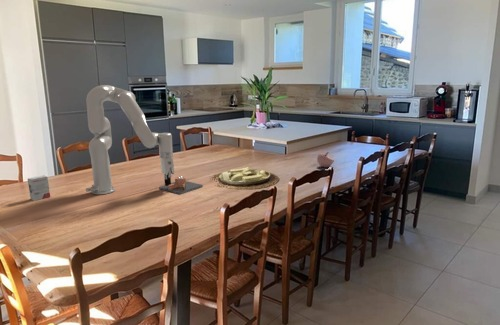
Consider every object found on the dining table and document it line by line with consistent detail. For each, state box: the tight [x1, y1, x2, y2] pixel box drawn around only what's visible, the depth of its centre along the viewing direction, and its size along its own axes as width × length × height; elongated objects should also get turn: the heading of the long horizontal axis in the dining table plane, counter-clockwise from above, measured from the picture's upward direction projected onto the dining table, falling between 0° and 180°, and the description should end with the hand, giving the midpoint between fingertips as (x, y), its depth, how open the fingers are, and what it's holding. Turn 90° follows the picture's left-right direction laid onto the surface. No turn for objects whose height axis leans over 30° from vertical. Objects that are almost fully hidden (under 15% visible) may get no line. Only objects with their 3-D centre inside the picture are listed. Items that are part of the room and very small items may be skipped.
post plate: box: [158, 175, 204, 195], centre depth 217 cm, size 18×18×7 cm
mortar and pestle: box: [316, 151, 335, 168], centre depth 266 cm, size 12×12×11 cm
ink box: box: [27, 174, 51, 202], centre depth 199 cm, size 9×5×12 cm, turn 141°
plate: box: [209, 166, 280, 191], centre depth 236 cm, size 45×45×7 cm
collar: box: [168, 176, 187, 190], centre depth 215 cm, size 12×6×5 cm, turn 144°
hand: (167, 185), depth 215 cm, fingers closed
